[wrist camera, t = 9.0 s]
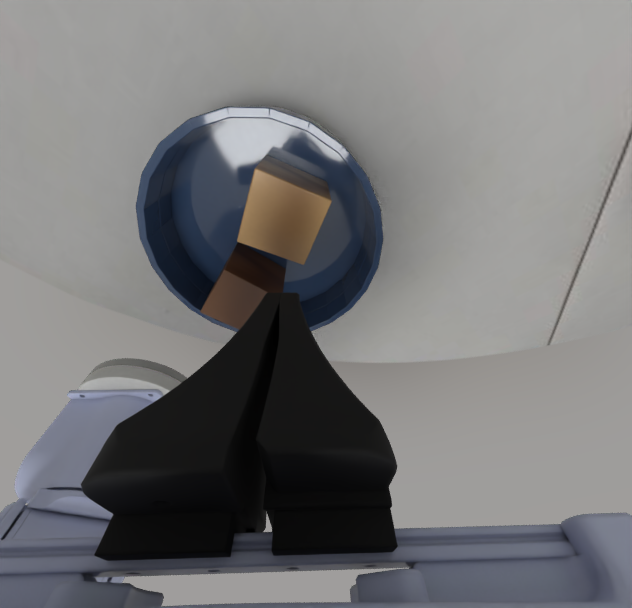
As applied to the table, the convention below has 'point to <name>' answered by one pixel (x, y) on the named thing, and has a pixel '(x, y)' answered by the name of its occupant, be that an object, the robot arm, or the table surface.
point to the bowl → (230, 199)
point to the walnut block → (242, 286)
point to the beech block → (283, 210)
